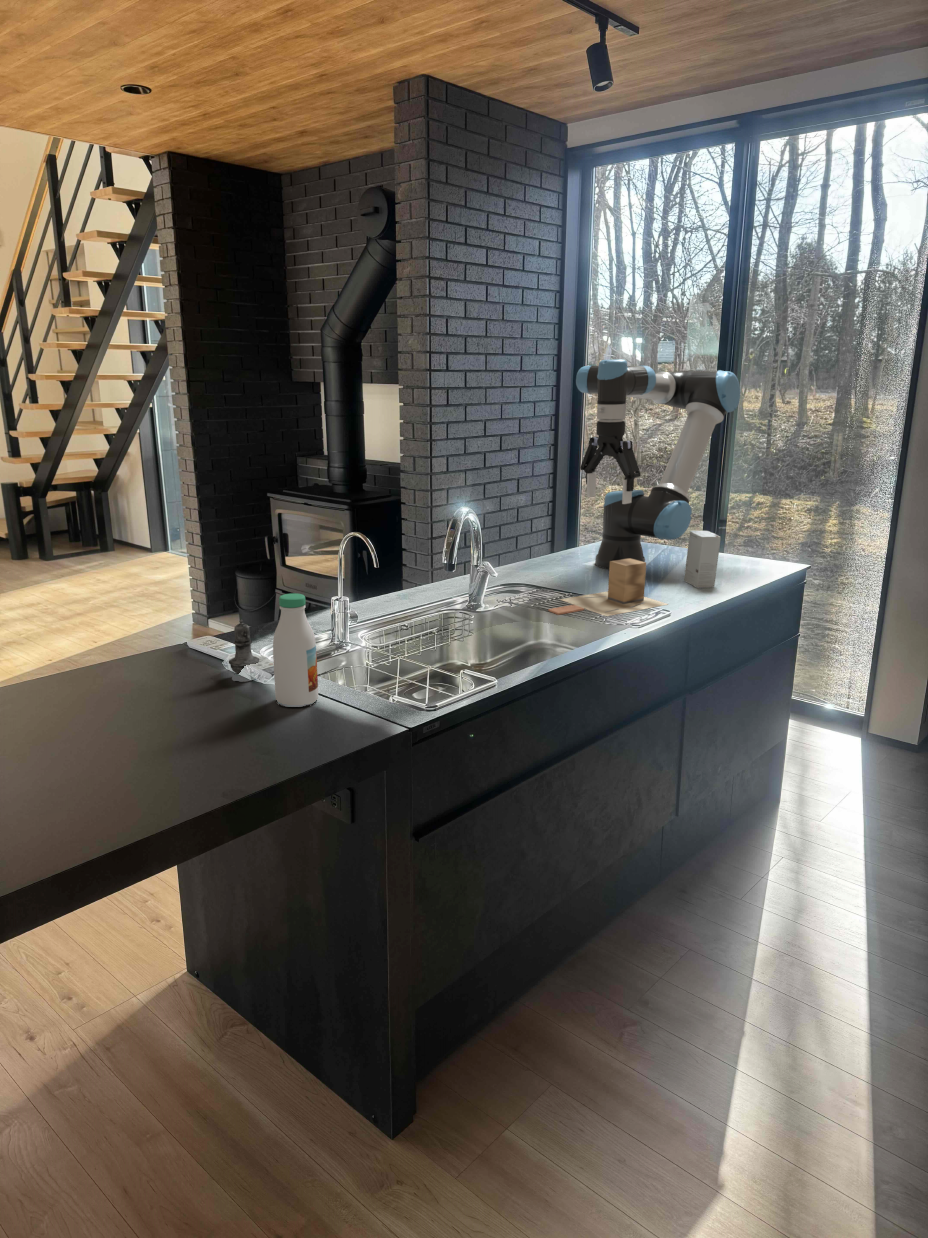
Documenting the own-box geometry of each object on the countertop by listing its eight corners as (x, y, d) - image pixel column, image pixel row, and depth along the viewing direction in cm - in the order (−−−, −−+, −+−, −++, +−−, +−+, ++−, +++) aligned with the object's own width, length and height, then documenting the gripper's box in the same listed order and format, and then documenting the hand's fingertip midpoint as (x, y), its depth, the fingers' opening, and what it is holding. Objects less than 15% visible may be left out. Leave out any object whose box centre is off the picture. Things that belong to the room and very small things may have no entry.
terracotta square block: (573, 612, 219) (573, 604, 218) (583, 616, 215) (584, 608, 215) (560, 614, 217) (561, 606, 216) (571, 618, 213) (571, 610, 213)
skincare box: (683, 581, 249) (687, 530, 245) (702, 580, 251) (707, 529, 246) (696, 588, 242) (701, 535, 237) (716, 587, 243) (721, 535, 239)
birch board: (620, 593, 236) (620, 588, 235) (668, 608, 221) (668, 604, 221) (559, 603, 225) (559, 599, 224) (606, 620, 210) (606, 616, 210)
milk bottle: (298, 712, 154) (293, 603, 148) (266, 703, 158) (260, 597, 152) (327, 699, 160) (323, 594, 154) (296, 690, 164) (290, 588, 158)
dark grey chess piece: (233, 684, 167) (229, 625, 163) (226, 675, 172) (222, 617, 168) (263, 680, 169) (260, 621, 166) (256, 670, 174) (252, 613, 171)
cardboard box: (627, 595, 229) (629, 558, 226) (643, 600, 224) (646, 562, 221) (607, 598, 225) (609, 561, 223) (623, 604, 221) (626, 565, 218)
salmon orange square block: (560, 614, 217) (561, 606, 216) (570, 618, 213) (571, 610, 213) (548, 616, 214) (548, 609, 214) (558, 620, 211) (558, 612, 211)
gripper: (568, 418, 237) (567, 495, 244) (635, 424, 218) (632, 508, 224) (588, 416, 241) (586, 492, 248) (656, 422, 222) (652, 504, 229)
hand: (608, 500), depth 236 cm, fingers open, 13 cm apart
